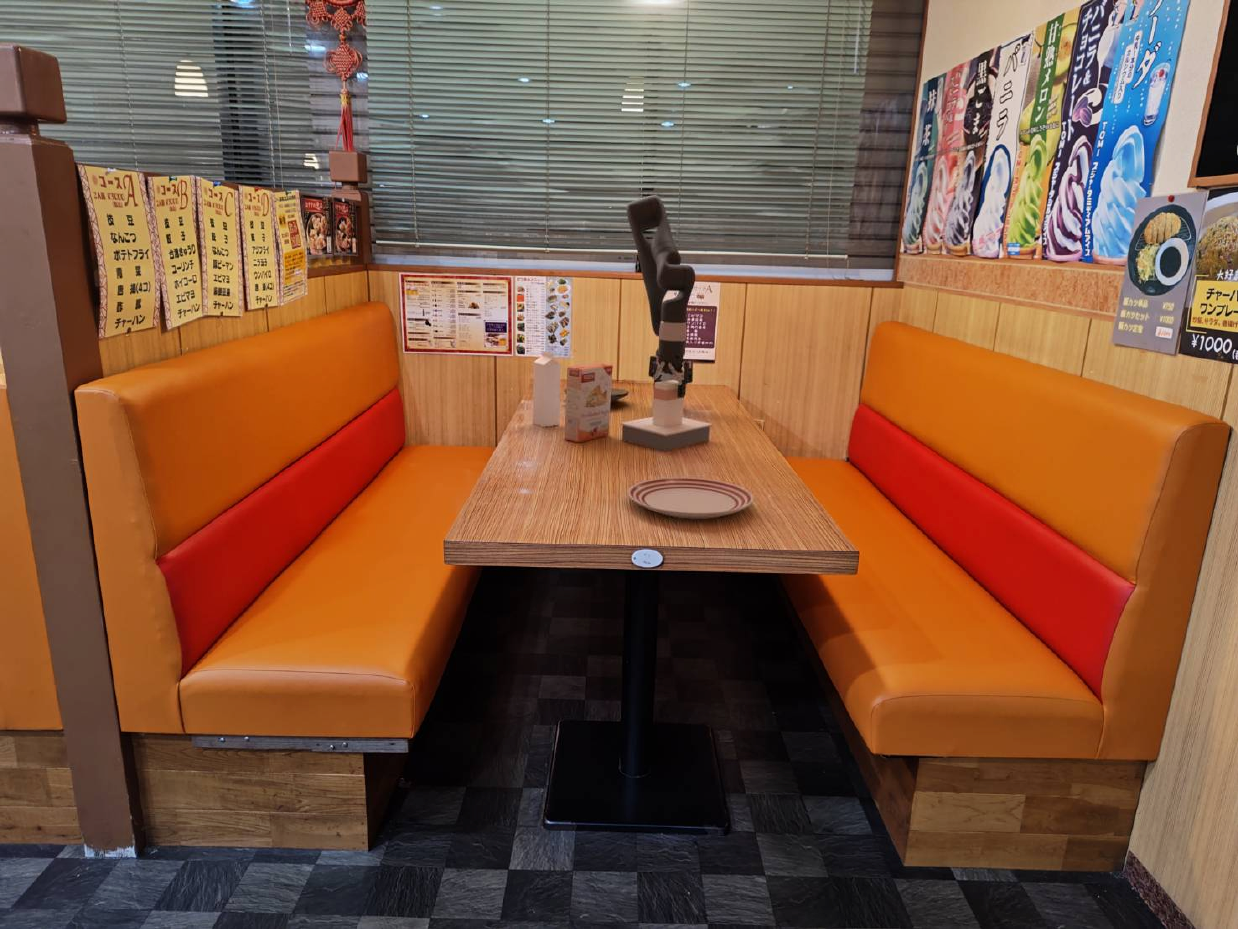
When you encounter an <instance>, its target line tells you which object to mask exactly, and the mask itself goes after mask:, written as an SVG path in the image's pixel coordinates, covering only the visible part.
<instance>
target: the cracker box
mask: <svg viewBox="0 0 1238 929" xmlns="http://www.w3.org/2000/svg"><path fill="white" fill-rule="evenodd" d="M613 368H614V367H613V365H611V364H607V363H599V362H596V363H588V364H581V365H574V366H567V368H566V371H567V372H566V388H565V389H566V394H565V414H564V415H565V418H564V437H563V438H564V440H567V441H570V442H575V443H582V442H586V441H591V440H594V439H598V437H599V438H603V437H602V436H604V437H607V435H608V436H609V434H610V433H609V432H610V419H611V418H610V417H611V416H610V415H611V403H612V402H611V388H612V386H613V384H612V382H613Z"/></svg>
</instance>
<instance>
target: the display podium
mask: <svg viewBox="0 0 1238 929" xmlns="http://www.w3.org/2000/svg"><path fill="white" fill-rule="evenodd" d="M652 421H653V416H650V417H644V418H639V419H633V420H629V421H623V422H620V425H619V426H622V428H621V430H622V431H621V440H622V441H624V440H625V441H624V442H627V441H631V442H633V443H632V444H635V443H636V444H635V445H640V446H643V447H646V446H647V448H651V449H654V450H658V451H662V452H668V451H671V450H675V449H676V450H678V449H680V448H681V449H682V448H684V446H685V447H689V446H693V445H697V444H702V443H706V442H709V441H710V430H711V429H710V427H712V426H713V423H709V422H705V421H699V420H696V419H691V418H687V417H683V418H682V424H677V425H672V426H667V427H662V426H658V425H654V424H652ZM705 441H706V442H705ZM631 442H630V443H631Z"/></svg>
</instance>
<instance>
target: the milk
mask: <svg viewBox="0 0 1238 929" xmlns="http://www.w3.org/2000/svg"><path fill="white" fill-rule="evenodd" d="M553 357H554V353H553V352H548V351H543V350H542V351H541V356H540V357H539V358H537V359H536V360H534V361H533V377H532V380H533V386H532V424H534V425H537V426H539V425H540V426H539V427H541V428H545V427H546V426H547V427H553V425H556V426H560V416H561V415H560V414H561V413H560V411H561V410H560V409H561V408H560V407H561V374H562V372H561V371H562V369H561V366H562V364H561V362H559V361H557V360H556V359H554V358H553Z"/></svg>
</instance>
